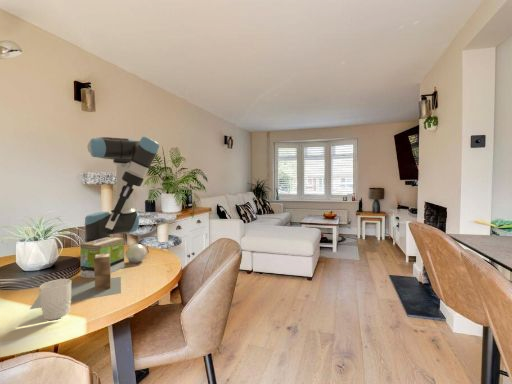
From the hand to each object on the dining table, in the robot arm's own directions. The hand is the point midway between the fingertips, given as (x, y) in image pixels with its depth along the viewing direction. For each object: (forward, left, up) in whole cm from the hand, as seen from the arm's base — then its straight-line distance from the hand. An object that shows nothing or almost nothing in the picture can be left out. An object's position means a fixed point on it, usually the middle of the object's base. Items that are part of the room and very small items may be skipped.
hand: (109, 227), depth 106 cm
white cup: (+22, +11, -23) cm, 34 cm away
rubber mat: (+10, -1, -23) cm, 25 cm away
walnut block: (+4, +3, -22) cm, 23 cm away
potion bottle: (-24, -19, -23) cm, 38 cm away
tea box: (-5, -15, -23) cm, 28 cm away
